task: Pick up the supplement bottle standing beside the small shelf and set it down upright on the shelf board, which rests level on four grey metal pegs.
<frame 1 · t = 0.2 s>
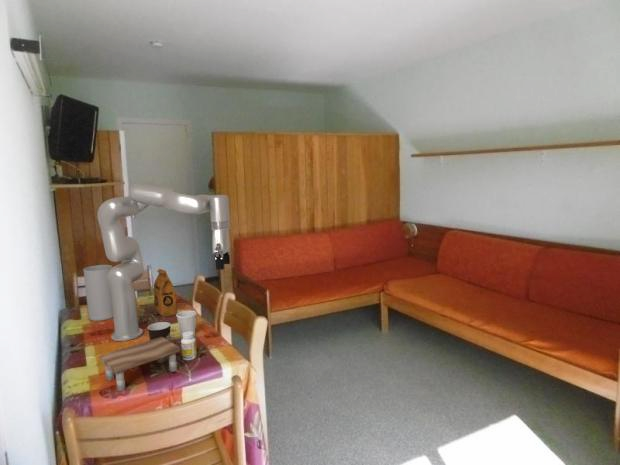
hand: (223, 266, 169), 31 cm above the table, tool pointing down, fingers open, 9 cm apart
dixie cup: (188, 336, 177), on the table
peg shelf: (142, 374, 143), on the table
supplement bottle: (189, 357, 156), on the table
cylinder vase: (103, 317, 203), on the table
coffee package: (166, 313, 206), on the table
coffee mug: (164, 349, 164), on the table
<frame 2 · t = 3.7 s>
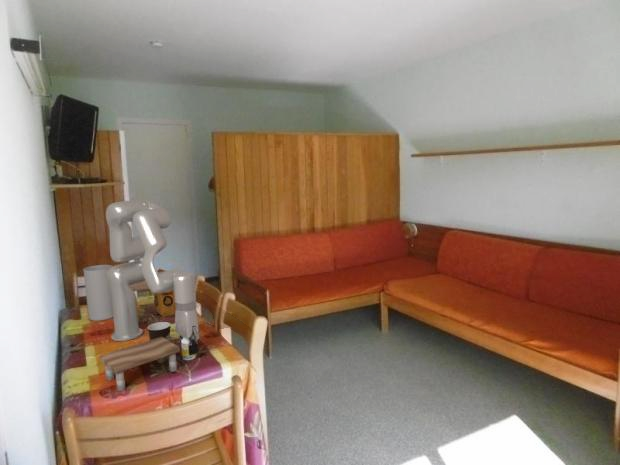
hand: (189, 351, 155), 3 cm above the table, tool pointing down, fingers closed on supplement bottle, 5 cm apart
supplement bottle: (189, 357, 156), on the table, touching gripper
everything else where it was.
when the fingers open (13 cm above the table, at t = 9.9 s): supplement bottle drops 2 cm, resting on peg shelf.
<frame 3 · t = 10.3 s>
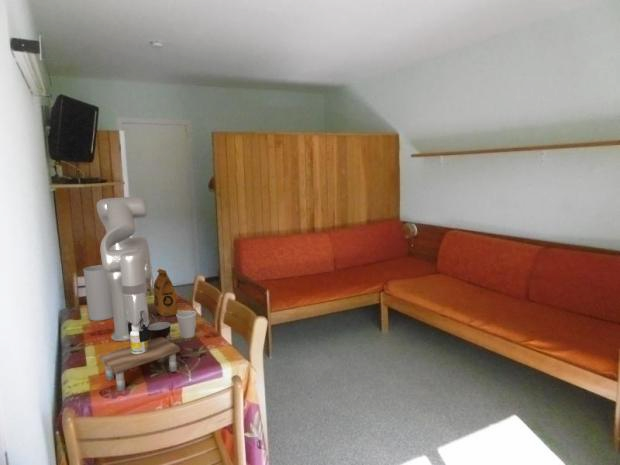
hand: (139, 337, 141), 14 cm above the table, tool pointing down, fingers open, 9 cm apart
supplement bottle: (140, 351, 142), point 8 cm above the table, touching peg shelf
everything else where it was.
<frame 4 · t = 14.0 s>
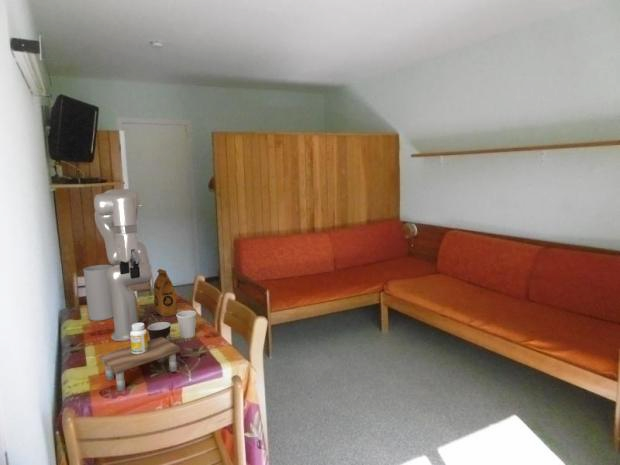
hand: (130, 275, 151), 32 cm above the table, tool pointing down, fingers open, 9 cm apart
nothing on the table moved.
at the end: supplement bottle inside the target area on the peg shelf (0.3 cm from its centre), point 8.3 cm above the peg shelf's base; supplement bottle tilted 0°; the gripper is holding nothing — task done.
